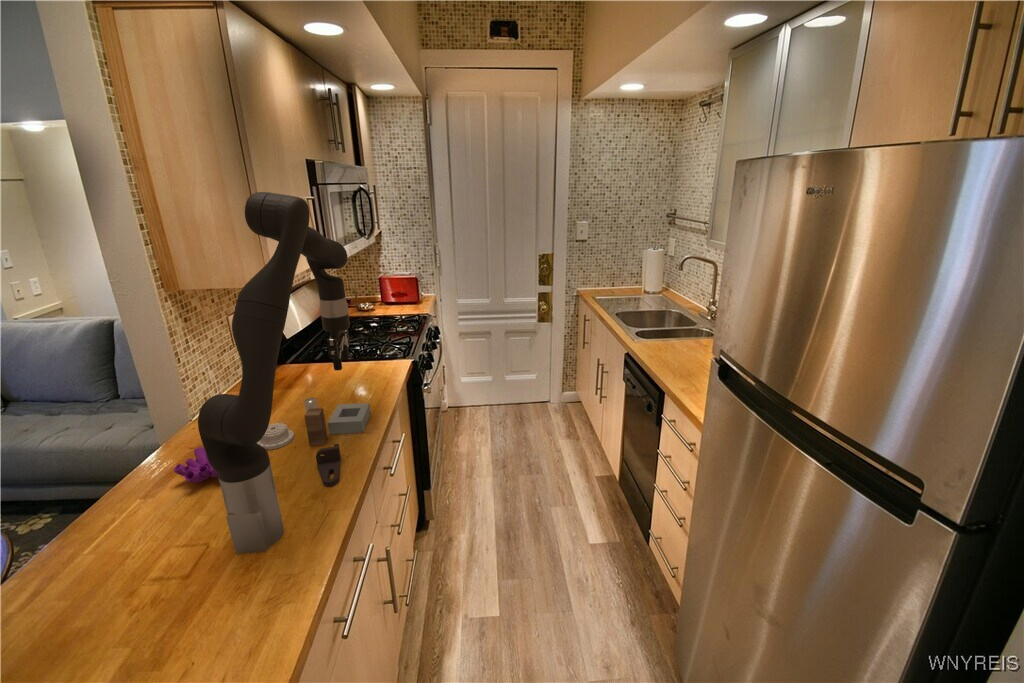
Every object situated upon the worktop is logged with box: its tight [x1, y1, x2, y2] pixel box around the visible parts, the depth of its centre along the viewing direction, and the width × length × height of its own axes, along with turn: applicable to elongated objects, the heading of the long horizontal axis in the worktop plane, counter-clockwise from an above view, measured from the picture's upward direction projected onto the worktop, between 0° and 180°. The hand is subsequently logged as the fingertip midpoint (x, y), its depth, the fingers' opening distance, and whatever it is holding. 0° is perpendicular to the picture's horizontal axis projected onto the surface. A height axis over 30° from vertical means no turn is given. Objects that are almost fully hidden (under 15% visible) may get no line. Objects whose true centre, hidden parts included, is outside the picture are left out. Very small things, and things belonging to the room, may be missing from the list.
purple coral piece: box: [173, 446, 218, 484], centre depth 115 cm, size 11×15×10 cm
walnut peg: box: [304, 407, 328, 447], centre depth 130 cm, size 4×4×10 cm
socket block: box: [327, 402, 372, 435], centre depth 141 cm, size 12×10×4 cm
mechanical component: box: [257, 422, 295, 451], centre depth 132 cm, size 10×4×10 cm
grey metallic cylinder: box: [303, 397, 319, 413], centre depth 141 cm, size 4×4×8 cm
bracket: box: [315, 443, 342, 488], centre depth 117 cm, size 6×12×5 cm, turn 18°
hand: (341, 364), depth 135 cm, fingers open, 8 cm apart
